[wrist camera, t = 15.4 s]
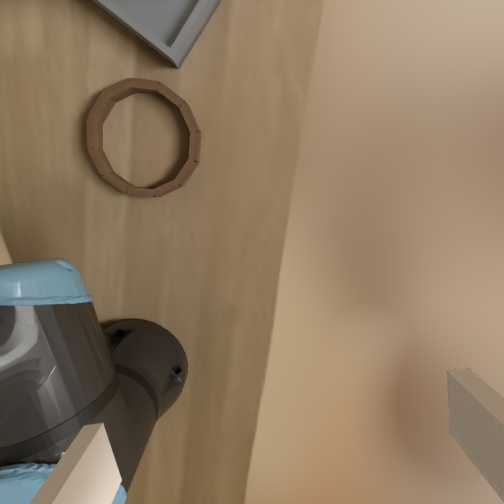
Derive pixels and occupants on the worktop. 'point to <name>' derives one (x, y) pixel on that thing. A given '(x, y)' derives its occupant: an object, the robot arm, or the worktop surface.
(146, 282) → the worktop surface
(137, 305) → the worktop surface
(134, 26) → the grey tray
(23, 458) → the robot arm
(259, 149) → the worktop surface
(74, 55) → the worktop surface
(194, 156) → the ring holder
